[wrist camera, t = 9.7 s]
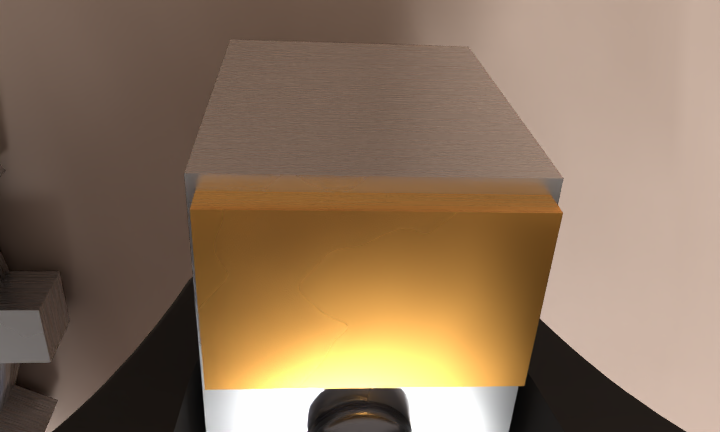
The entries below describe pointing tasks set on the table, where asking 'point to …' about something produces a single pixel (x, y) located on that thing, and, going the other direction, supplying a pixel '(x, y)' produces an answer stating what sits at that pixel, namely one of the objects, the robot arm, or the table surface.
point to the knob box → (365, 240)
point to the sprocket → (28, 341)
